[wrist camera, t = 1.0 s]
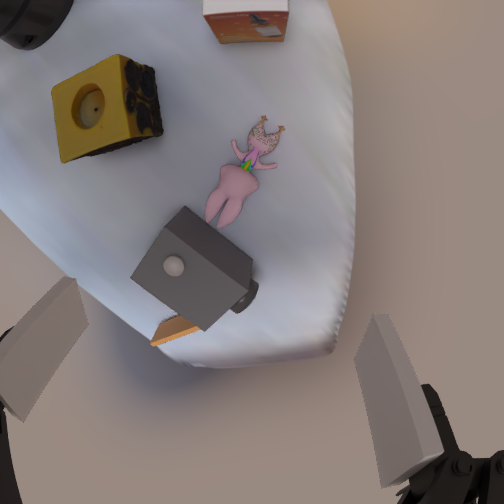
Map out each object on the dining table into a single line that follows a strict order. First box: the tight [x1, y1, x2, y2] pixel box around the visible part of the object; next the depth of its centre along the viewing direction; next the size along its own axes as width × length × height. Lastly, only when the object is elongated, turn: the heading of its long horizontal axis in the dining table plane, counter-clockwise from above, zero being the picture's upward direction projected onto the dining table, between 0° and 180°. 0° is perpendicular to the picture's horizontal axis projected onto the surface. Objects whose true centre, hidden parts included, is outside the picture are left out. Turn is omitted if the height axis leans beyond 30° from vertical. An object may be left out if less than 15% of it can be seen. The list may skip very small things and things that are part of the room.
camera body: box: [130, 206, 259, 332], centre depth 36 cm, size 14×9×9 cm, turn 50°
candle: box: [51, 54, 164, 163], centre depth 27 cm, size 10×10×10 cm
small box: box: [203, 0, 289, 43], centre depth 21 cm, size 8×6×10 cm
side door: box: [150, 315, 201, 346], centre depth 42 cm, size 11×2×5 cm, turn 120°
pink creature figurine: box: [205, 115, 285, 229], centre depth 32 cm, size 6×6×15 cm
